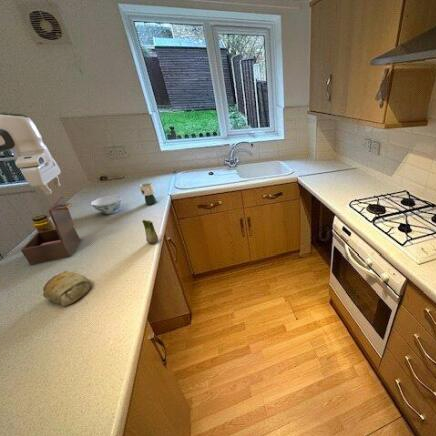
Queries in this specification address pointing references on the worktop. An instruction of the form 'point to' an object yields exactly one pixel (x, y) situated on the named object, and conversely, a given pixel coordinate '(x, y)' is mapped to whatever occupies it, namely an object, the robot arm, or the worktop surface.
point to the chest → (50, 246)
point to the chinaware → (107, 204)
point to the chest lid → (61, 217)
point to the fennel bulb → (150, 232)
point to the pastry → (66, 288)
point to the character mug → (148, 193)
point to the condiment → (42, 223)
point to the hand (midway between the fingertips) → (53, 190)
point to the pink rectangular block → (51, 242)
